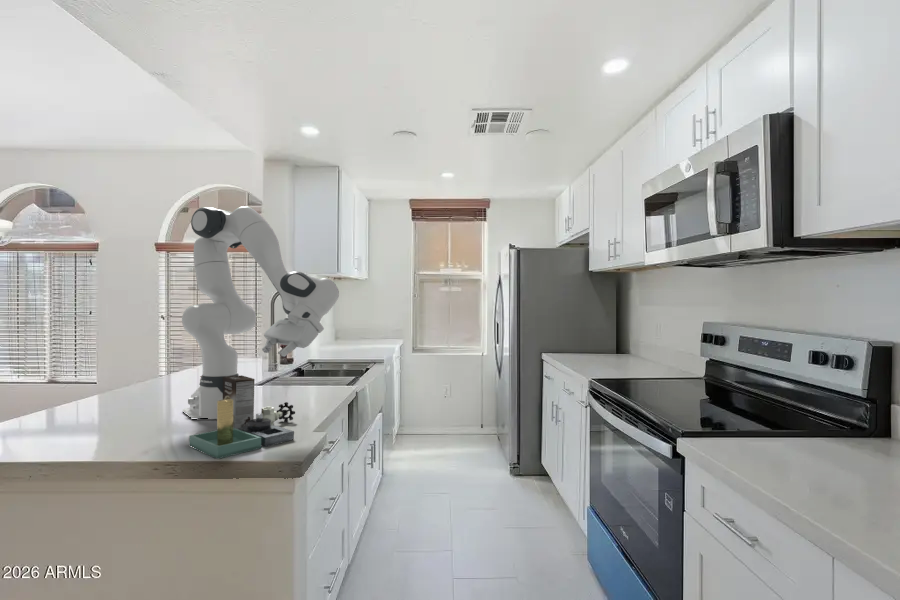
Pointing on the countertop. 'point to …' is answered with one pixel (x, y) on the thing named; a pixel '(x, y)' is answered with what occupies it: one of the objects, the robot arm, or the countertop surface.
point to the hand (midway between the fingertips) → (272, 353)
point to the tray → (239, 445)
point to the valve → (278, 413)
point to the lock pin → (224, 421)
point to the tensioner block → (267, 431)
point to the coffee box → (240, 398)
